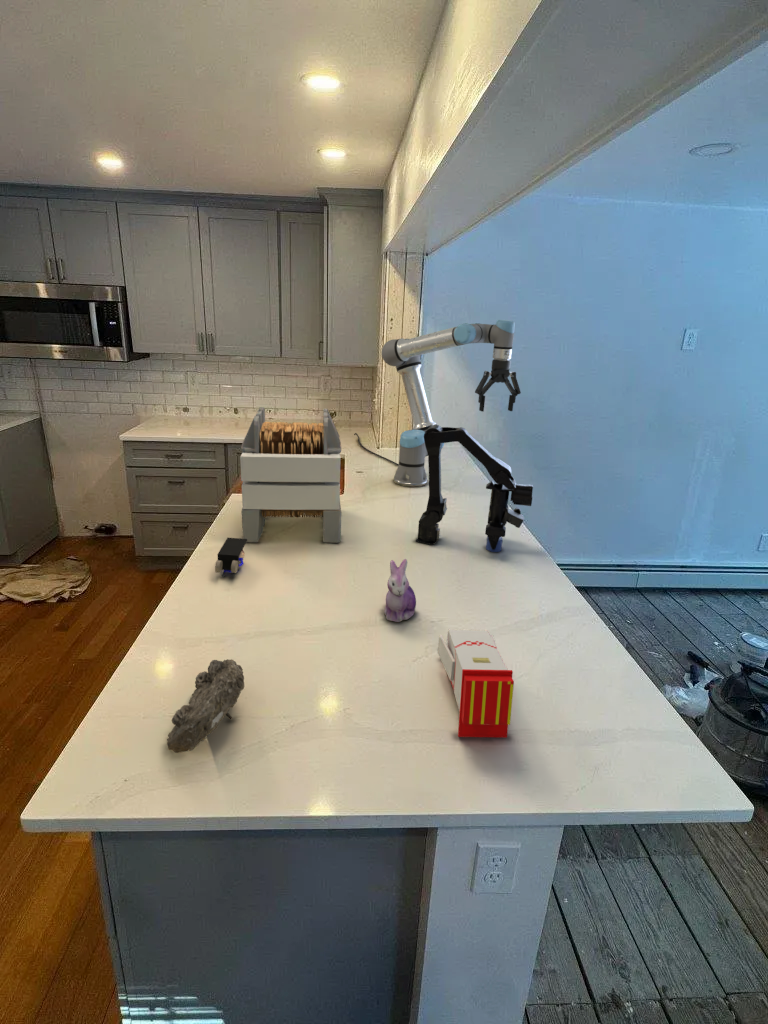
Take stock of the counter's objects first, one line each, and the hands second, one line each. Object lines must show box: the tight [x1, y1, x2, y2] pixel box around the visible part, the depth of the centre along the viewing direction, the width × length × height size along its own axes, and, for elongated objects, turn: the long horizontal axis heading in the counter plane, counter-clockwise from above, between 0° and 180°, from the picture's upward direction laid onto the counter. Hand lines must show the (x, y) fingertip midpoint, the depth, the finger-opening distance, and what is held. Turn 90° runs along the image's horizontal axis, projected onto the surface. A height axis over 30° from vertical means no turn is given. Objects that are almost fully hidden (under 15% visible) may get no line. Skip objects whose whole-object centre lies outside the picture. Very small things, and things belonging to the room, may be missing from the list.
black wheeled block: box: [214, 537, 248, 578], centre depth 166 cm, size 7×8×15 cm
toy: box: [437, 628, 515, 738], centre depth 117 cm, size 12×13×30 cm
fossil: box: [166, 658, 245, 754], centre depth 106 cm, size 22×10×15 cm
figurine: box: [384, 558, 417, 623], centre depth 145 cm, size 9×10×15 cm
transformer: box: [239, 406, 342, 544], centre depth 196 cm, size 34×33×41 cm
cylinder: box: [485, 535, 504, 553], centre depth 190 cm, size 5×5×4 cm
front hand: (493, 546), depth 190 cm, fingers closed on cylinder, 5 cm apart
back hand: (495, 410), depth 241 cm, fingers open, 13 cm apart
